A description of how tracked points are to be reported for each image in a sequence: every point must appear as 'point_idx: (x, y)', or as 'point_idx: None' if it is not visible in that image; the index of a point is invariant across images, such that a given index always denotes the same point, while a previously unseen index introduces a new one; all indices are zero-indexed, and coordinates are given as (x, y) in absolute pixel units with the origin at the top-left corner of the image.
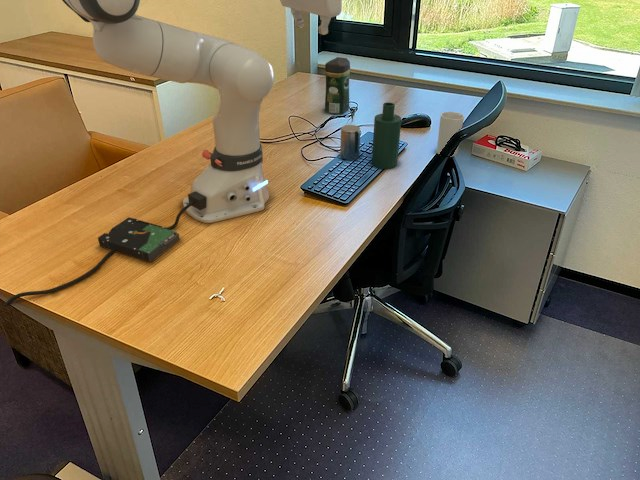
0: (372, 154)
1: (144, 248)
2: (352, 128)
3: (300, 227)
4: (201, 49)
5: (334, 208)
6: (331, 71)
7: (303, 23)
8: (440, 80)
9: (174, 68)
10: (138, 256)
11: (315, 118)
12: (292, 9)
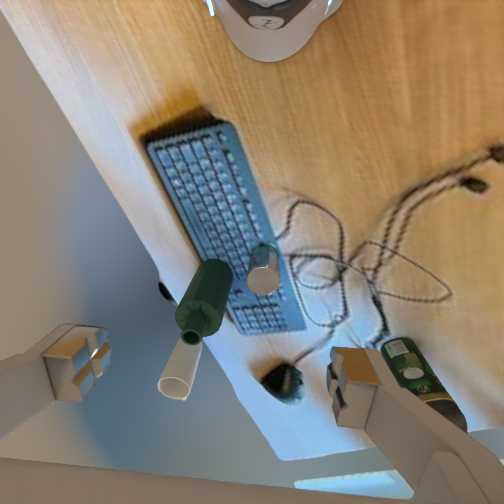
0: (222, 269)
1: None
2: (260, 282)
3: (118, 22)
4: None
5: (143, 119)
6: (435, 403)
7: (334, 394)
8: (350, 479)
9: None
10: None
11: (407, 314)
12: (489, 496)
